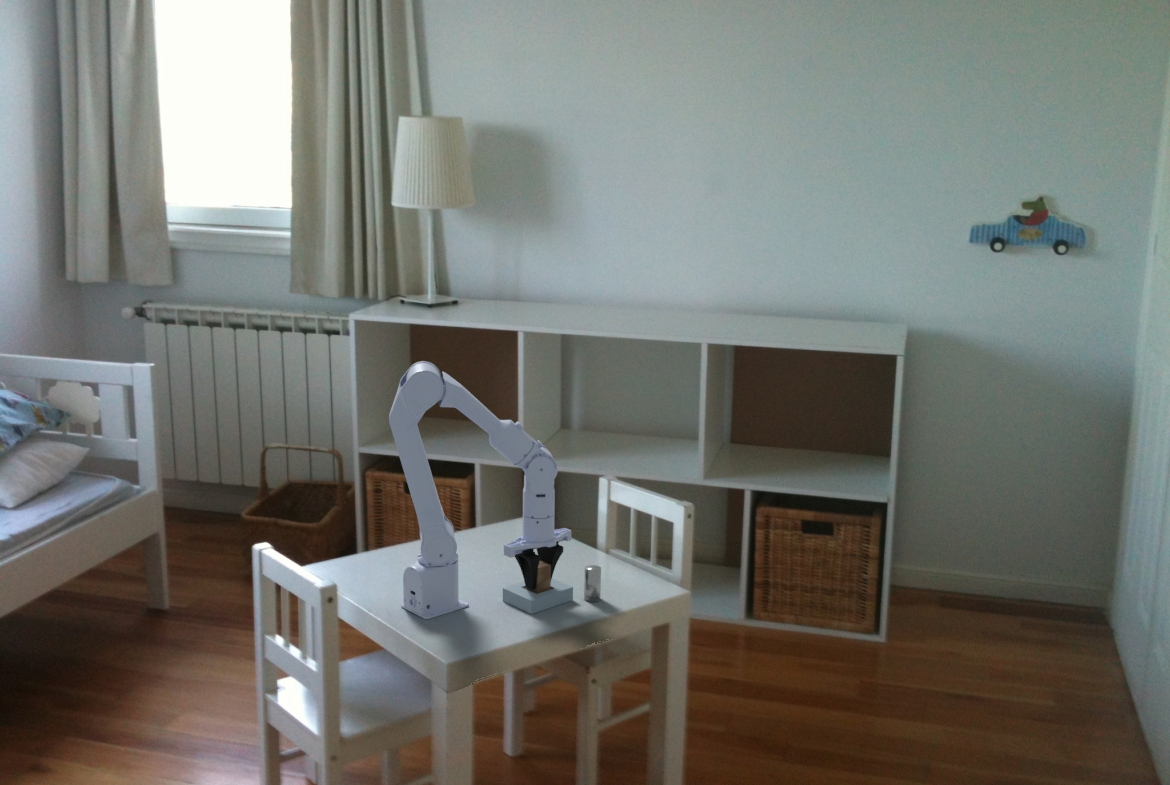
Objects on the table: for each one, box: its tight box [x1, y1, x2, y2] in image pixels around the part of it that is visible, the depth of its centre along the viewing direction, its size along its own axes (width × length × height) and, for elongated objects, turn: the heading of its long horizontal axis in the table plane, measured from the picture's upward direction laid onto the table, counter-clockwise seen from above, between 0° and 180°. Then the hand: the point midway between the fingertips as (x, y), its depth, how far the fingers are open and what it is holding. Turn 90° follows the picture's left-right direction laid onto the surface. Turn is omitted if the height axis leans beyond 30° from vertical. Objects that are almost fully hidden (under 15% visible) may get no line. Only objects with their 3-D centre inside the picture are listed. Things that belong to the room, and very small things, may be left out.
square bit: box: [527, 560, 551, 594], centre depth 206 cm, size 3×3×6 cm
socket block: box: [502, 578, 574, 615], centre depth 207 cm, size 10×8×2 cm
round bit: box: [583, 564, 602, 603], centre depth 208 cm, size 3×3×6 cm
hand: (537, 585), depth 207 cm, fingers closed on square bit, 3 cm apart
